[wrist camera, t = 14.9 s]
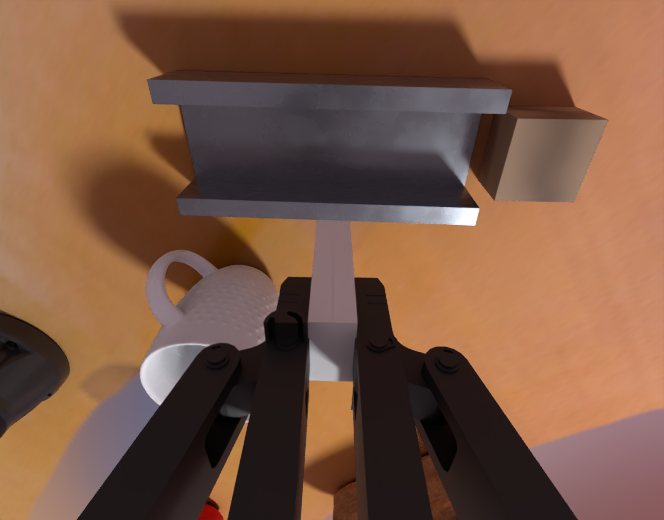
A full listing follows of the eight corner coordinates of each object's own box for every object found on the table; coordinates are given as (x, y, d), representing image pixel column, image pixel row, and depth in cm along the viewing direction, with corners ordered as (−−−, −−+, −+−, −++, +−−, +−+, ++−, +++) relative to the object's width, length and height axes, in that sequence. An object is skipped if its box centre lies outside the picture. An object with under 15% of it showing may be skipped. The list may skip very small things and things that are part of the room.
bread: (322, 487, 66) (317, 582, 55) (471, 429, 54) (503, 536, 43) (363, 510, 71) (366, 601, 60) (508, 461, 59) (546, 565, 48)
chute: (200, 190, 33) (180, 215, 29) (176, 70, 28) (146, 79, 24) (458, 199, 33) (474, 225, 29) (487, 78, 27) (512, 89, 23)
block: (477, 179, 32) (494, 200, 28) (495, 105, 29) (517, 118, 25) (547, 180, 32) (573, 202, 28) (574, 106, 28) (608, 119, 25)
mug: (147, 247, 37) (66, 342, 27) (227, 198, 34) (171, 284, 23) (239, 335, 44) (204, 439, 33) (313, 302, 41) (301, 405, 30)
